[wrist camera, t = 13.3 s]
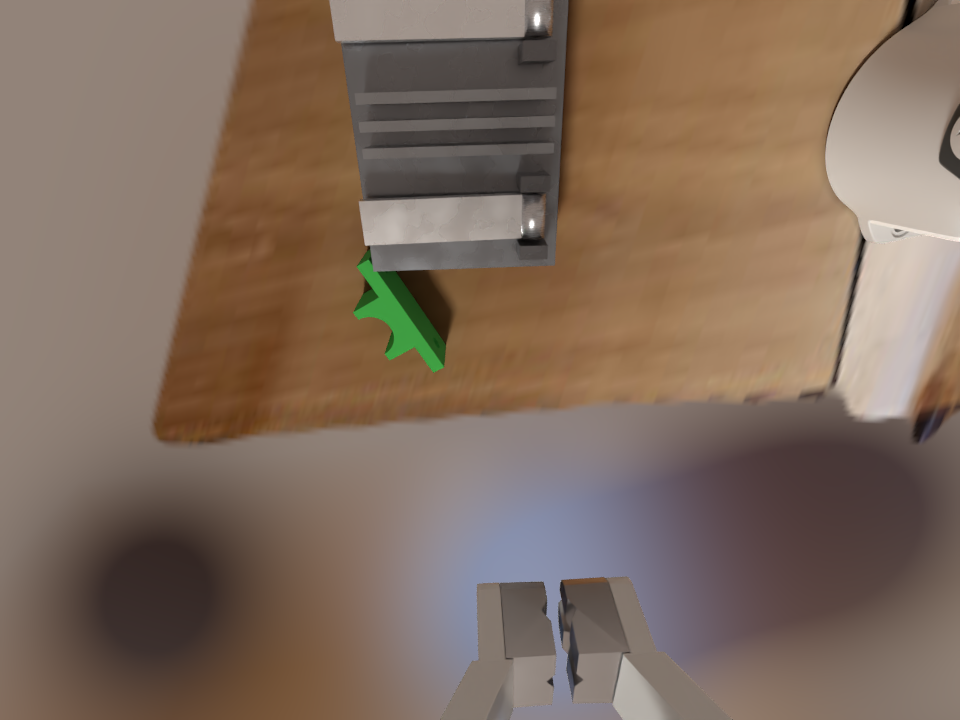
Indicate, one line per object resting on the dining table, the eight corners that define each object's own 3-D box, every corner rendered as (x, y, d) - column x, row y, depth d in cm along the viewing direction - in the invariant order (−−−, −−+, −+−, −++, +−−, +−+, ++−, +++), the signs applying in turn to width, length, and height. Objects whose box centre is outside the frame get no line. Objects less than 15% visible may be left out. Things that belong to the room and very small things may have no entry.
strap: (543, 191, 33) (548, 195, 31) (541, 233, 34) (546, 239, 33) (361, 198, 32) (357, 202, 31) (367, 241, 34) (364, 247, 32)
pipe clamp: (343, 265, 41) (329, 282, 37) (378, 243, 40) (368, 258, 36) (413, 361, 45) (408, 386, 41) (446, 344, 45) (444, 367, 40)
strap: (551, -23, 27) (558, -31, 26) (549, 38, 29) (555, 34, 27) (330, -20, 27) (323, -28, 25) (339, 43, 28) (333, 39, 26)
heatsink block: (556, -52, 31) (584, -100, 24) (544, 248, 40) (561, 277, 33) (344, -47, 30) (309, -94, 23) (383, 253, 40) (366, 284, 33)
